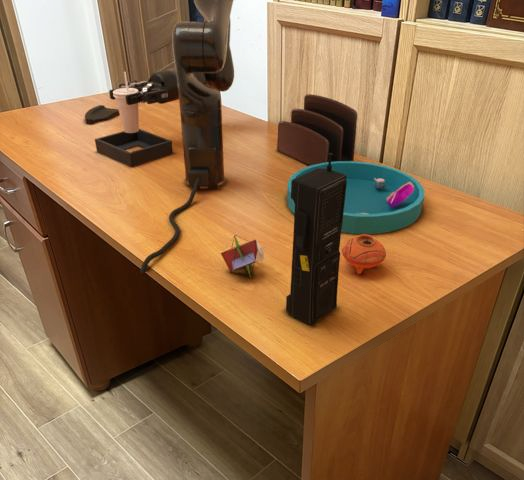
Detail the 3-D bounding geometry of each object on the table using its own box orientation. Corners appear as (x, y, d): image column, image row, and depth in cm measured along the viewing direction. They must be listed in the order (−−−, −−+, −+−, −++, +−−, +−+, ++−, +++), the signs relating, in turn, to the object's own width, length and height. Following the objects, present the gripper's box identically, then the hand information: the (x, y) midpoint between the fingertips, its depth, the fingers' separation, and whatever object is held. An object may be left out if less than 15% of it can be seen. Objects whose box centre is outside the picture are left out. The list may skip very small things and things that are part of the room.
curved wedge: (74, 122, 163) (72, 116, 162) (100, 110, 172) (99, 104, 171) (96, 125, 160) (95, 119, 159) (122, 113, 170) (121, 107, 169)
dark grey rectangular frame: (173, 153, 143) (171, 140, 141) (131, 167, 135) (129, 153, 133) (138, 139, 151) (136, 127, 149) (96, 151, 143) (94, 139, 141)
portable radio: (309, 330, 84) (322, 176, 68) (280, 315, 87) (286, 164, 71) (338, 309, 88) (357, 159, 72) (309, 295, 91) (321, 149, 75)
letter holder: (304, 143, 150) (307, 89, 141) (353, 164, 138) (360, 107, 129) (276, 150, 145) (277, 95, 136) (325, 173, 133) (330, 114, 124)
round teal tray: (424, 240, 107) (430, 213, 103) (277, 226, 111) (278, 199, 107) (418, 182, 129) (423, 157, 126) (296, 172, 133) (297, 148, 130)
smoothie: (141, 134, 137) (132, 75, 128) (116, 134, 137) (106, 74, 128) (146, 127, 142) (138, 68, 133) (122, 126, 142) (112, 68, 133)
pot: (374, 252, 102) (383, 224, 97) (385, 281, 98) (395, 254, 92) (334, 253, 101) (340, 225, 96) (343, 283, 97) (350, 255, 91)
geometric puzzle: (213, 272, 93) (240, 238, 89) (212, 252, 98) (238, 219, 94) (246, 291, 96) (274, 259, 92) (244, 271, 101) (269, 240, 97)
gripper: (152, 65, 143) (99, 76, 134) (187, 74, 136) (133, 86, 126) (155, 95, 148) (104, 108, 139) (189, 105, 140) (138, 119, 131)
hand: (118, 97), depth 132 cm, fingers closed on smoothie, 6 cm apart
